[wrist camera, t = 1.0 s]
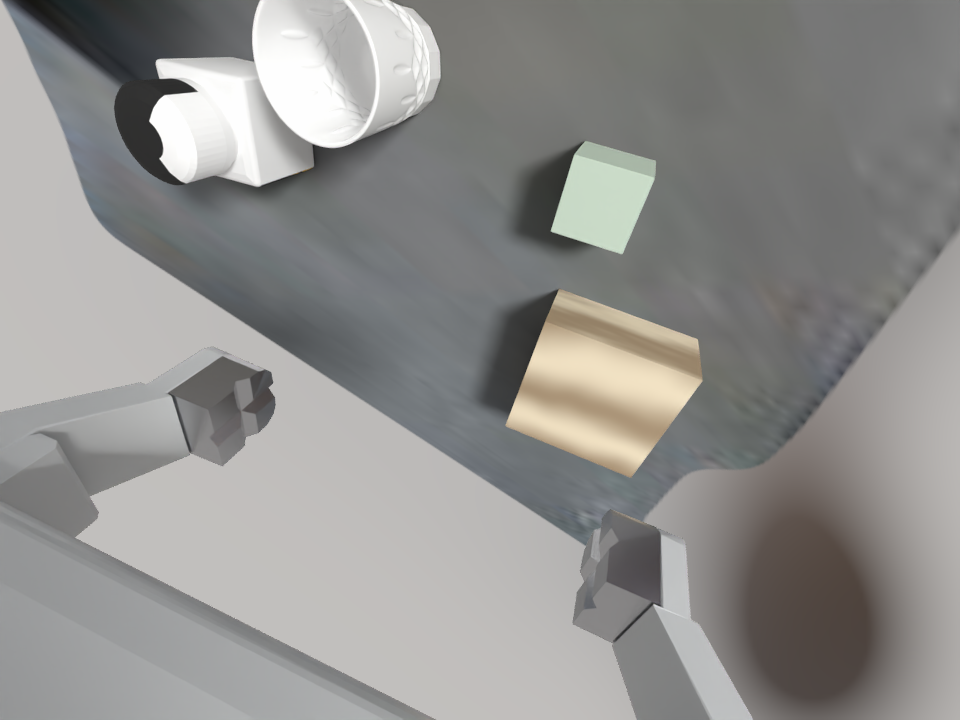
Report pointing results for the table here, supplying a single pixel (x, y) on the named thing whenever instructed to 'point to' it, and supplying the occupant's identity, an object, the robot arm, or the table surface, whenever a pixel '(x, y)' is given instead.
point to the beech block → (604, 383)
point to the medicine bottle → (208, 124)
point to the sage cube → (603, 196)
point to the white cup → (344, 66)
